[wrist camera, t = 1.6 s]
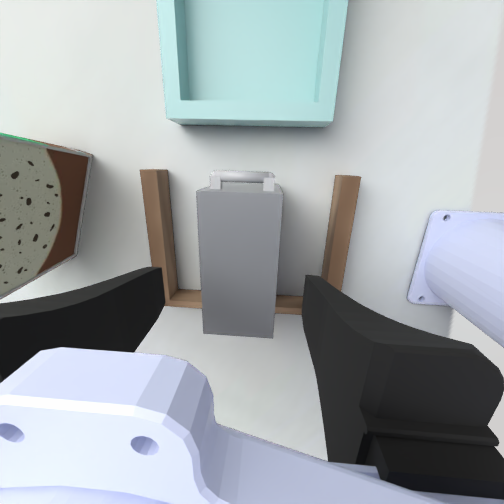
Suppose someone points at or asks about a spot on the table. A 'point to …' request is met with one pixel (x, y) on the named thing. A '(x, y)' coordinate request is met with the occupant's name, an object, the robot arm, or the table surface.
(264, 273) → the gray box with handle
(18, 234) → the food container
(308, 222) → the table surface
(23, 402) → the robot arm
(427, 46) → the table surface
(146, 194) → the frame
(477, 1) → the table surface
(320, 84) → the tray
